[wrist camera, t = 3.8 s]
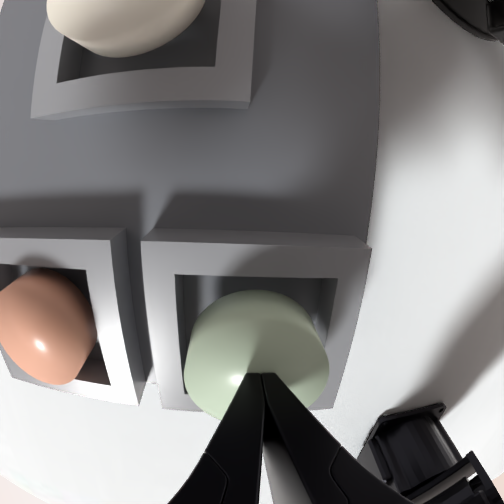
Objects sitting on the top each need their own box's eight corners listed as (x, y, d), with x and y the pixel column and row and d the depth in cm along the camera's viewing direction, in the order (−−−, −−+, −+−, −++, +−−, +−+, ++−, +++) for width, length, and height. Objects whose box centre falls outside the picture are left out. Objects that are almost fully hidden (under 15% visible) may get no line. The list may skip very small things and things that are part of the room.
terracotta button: (87, 270, 10) (64, 293, 8) (106, 364, 11) (92, 393, 9) (6, 265, 9) (-20, 282, 8) (30, 350, 11) (12, 373, 9)
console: (348, -17, 10) (385, -62, 5) (319, 347, 16) (343, 406, 11) (39, 0, 8) (-6, -26, 4) (42, 329, 14) (5, 375, 10)
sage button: (324, 290, 9) (342, 319, 8) (305, 388, 11) (315, 422, 9) (188, 287, 9) (178, 318, 7) (193, 388, 10) (189, 424, 9)
